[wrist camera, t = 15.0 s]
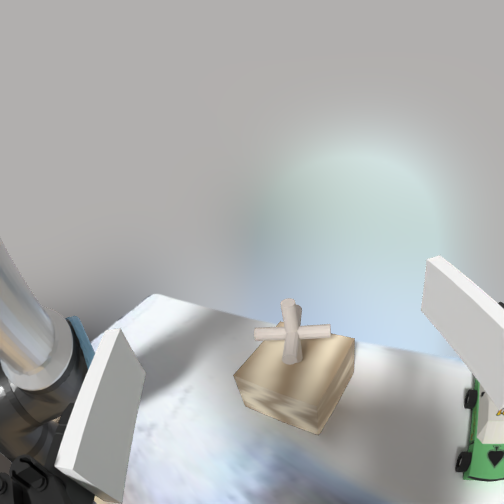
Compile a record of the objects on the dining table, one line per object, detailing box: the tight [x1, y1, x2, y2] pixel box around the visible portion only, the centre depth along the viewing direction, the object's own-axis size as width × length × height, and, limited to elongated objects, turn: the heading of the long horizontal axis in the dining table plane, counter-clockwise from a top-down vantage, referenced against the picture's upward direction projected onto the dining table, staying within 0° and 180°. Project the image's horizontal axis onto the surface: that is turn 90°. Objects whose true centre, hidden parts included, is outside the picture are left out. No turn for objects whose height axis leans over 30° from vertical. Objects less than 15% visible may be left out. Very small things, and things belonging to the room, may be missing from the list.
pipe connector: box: [254, 299, 331, 365], centre depth 39 cm, size 10×10×10 cm
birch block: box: [233, 322, 355, 435], centre depth 42 cm, size 13×13×8 cm
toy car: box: [456, 378, 504, 481], centre depth 25 cm, size 10×19×5 cm, turn 149°
